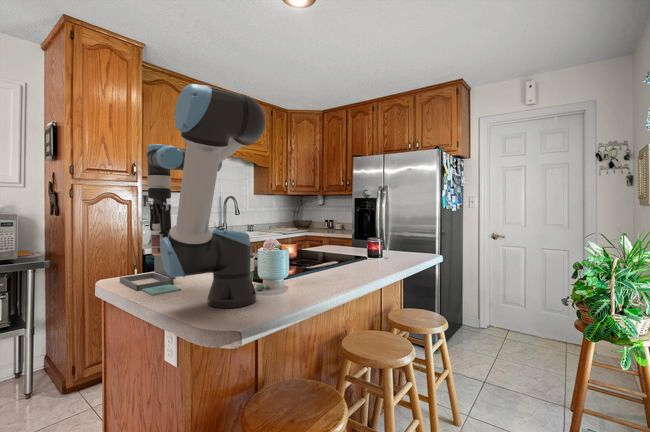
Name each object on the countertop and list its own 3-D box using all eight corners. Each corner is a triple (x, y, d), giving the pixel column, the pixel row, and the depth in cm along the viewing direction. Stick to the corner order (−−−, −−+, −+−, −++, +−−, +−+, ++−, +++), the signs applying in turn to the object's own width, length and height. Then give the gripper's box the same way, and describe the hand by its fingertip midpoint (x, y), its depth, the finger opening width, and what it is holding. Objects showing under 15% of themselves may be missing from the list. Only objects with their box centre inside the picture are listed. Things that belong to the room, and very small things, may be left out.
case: (175, 284, 133) (175, 249, 132) (136, 290, 122) (135, 252, 122) (156, 276, 146) (155, 245, 146) (119, 282, 136) (119, 248, 136)
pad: (181, 290, 123) (181, 288, 123) (152, 295, 116) (152, 293, 116) (169, 285, 130) (169, 284, 130) (142, 290, 123) (142, 289, 123)
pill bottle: (171, 254, 122) (170, 223, 121) (152, 256, 118) (151, 224, 118) (168, 252, 127) (168, 223, 126) (150, 254, 123) (149, 223, 123)
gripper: (181, 187, 118) (182, 252, 119) (160, 189, 131) (161, 247, 132) (158, 186, 112) (160, 254, 113) (139, 188, 125) (140, 249, 126)
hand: (160, 250), depth 122 cm, fingers closed on pill bottle, 6 cm apart
